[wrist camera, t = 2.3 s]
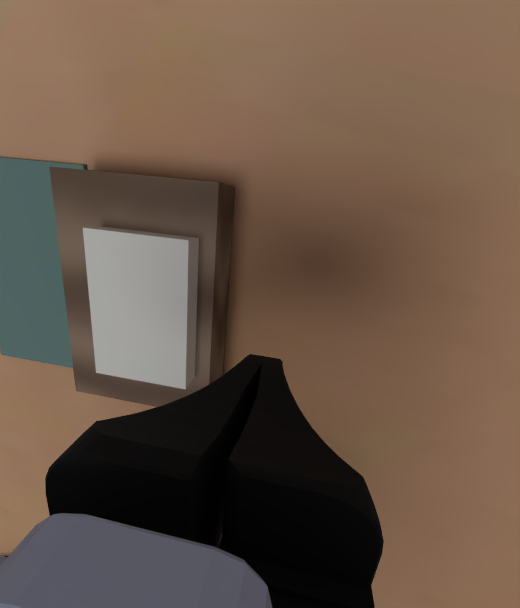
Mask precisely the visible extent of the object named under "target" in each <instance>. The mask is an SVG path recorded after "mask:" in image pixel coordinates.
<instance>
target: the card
mask: <svg viewBox="0 0 520 608" xmlns="http://www.w3.org/2000/svg"><path fill="white" fill-rule="evenodd" d="M83 237H84V248H85V259H86V269H87V280H88V291H89V302H90V313H91V324H92V334H93V345H94V356H95V367H96V373H100V374H105V375H111V376H116V377H121V378H127V379H132V380H138V381H143V382H148V383H154V384H159V385H164V386H170V387H175V388H181V389H186V388H187V387H188V385H189V384H190V383H191V381H192V380H193V378H194V377H195V352H196V319H197V286H198V253H199V238H195V237H187V236H178V235H170V234H161V233H153V232H145V231H136V230H128V229H119V228H111V227H102V226H100V227H84V228H83Z"/></svg>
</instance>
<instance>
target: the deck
mask: <svg viewBox="0 0 520 608" xmlns="http://www.w3.org/2000/svg"><path fill="white" fill-rule="evenodd" d="M49 170H50V178H51V186H52V195H53V203H54V211H55V220H56V228H57V236H58V245H59V253H60V261H61V270H62V278H63V286H64V295H65V303H66V311H67V320H68V328H69V336H70V345H71V353H72V361H73V370H74V378H75V386H76V391H79V392H84V393H89V394H95V395H100V396H105V397H110V398H115V399H120V400H125V401H130V402H135V403H140V404H146V405H151V406H156V407H159V406H162V405H165V404H168V403H170V402H173V401H175V400H178V399H180V398H183V397H186V396H188V395H190V394H192V393H194V392H196V391H198V390H200V389H202V388H204V387H206V386H207V385H209V384H211V383H212V382H214V381H215V380H217V379H218V378H220V377H221V376H223V363H224V348H225V332H226V317H227V302H228V286H229V271H230V255H231V240H232V225H233V209H234V194H235V188H234V187H232V186H229V185H226V184H223V183H220V182H211V181H201V180H190V179H179V178H168V177H158V176H147V175H136V174H125V173H115V172H104V171H93V170H83V169H72V168H61V167H50V166H49ZM100 226H102V227H111V228H119V229H128V230H136V231H145V232H153V233H161V234H170V235H178V236H187V237H195V238H199V253H198V286H197V319H196V352H195V377H194V378H193V380H192V381H191V383H190V384H189V385H188V387H187V388H186V389H181V388H175V387H170V386H164V385H159V384H154V383H148V382H143V381H138V380H132V379H127V378H121V377H116V376H111V375H105V374H100V373H96V367H95V356H94V345H93V334H92V324H91V313H90V302H89V291H88V280H87V269H86V259H85V248H84V237H83V228H84V227H100Z"/></svg>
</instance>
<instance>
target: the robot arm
mask: <svg viewBox="0 0 520 608" xmlns="http://www.w3.org/2000/svg"><path fill="white" fill-rule="evenodd" d="M282 363H283V362H282V361H281V360H280V359H277V358H271V357H265V356H258V355H252V354H250V355H248V356H247V357H246V358H244V359H243V360H242V361H241V362H240V363H238V364H237V365H236V366H235V367H233V368H232V369H231V370H229V371H228V372H227V373H225V374H224V375H223V376H221V377H220V378H218V379H217V380H215V381H214V382H212V383H211V384H209V385H207V386H206V387H204V388H202V389H200V390H198V391H196V392H194V393H192V394H190V395H188V396H186V397H183V398H180V399H178V400H175V401H173V402H170V403H168V404H165V405H162V406H159V407H156V408H153V409H150V410H146V411H143V412H139V413H135V414H131V415H126V416H121V417H116V418H112V419H107V420H101V421H96V422H95V423H94V424H93V425H92V426H91V427H90V428H89V429H87V430H86V431H85V432H84V433H83V434H82V435H81V436H80V437H79V438H78V439H77V440H76V441H75V442H74V443H73V444H72V445H71V446H70V447H69V448H68V449H67V450H66V451H65V452H64V453H63V454H62V455H61V456H60V457H59V458H58V459H57V460H56V461H55V462H54V463H53V464H52V465H51V466H50V467H49V470H48V472H47V475H46V478H45V480H46V497H47V502H48V508H49V513H50V517H48V518H47V519H45V520H43V521H42V522H40V523H39V524H37V525H36V526H35V527H34V528H33V529H32V530H31V531H30V533H29V534H28V535H27V536H26V537H25V538H24V539H23V541H22V542H21V543H20V544H19V545H18V546H17V547H16V549H15V550H14V551H13V552H12V553H11V554H10V555H9V557H4V556H1V555H0V608H374V601H373V595H372V589H371V584H372V581H373V578H374V575H375V572H376V570H377V567H378V564H379V561H380V558H381V555H382V549H383V537H382V531H381V526H380V522H379V518H378V515H377V512H376V509H375V506H374V503H373V500H372V498H371V495H370V492H369V490H368V487H367V485H366V482H365V480H364V478H363V477H362V476H361V475H360V474H359V473H358V472H357V471H355V470H354V469H353V468H352V467H351V466H349V465H348V464H347V463H346V462H345V461H343V460H342V459H341V458H340V457H339V456H338V455H337V454H336V453H335V452H334V451H333V450H332V449H331V448H330V447H329V446H328V445H327V444H326V443H325V442H324V441H323V440H322V439H321V438H320V437H319V435H318V434H317V433H316V432H315V431H314V429H313V428H312V427H311V425H310V424H309V423H308V421H307V420H306V418H305V417H304V415H303V414H302V412H301V410H300V409H299V407H298V405H297V403H296V401H295V399H294V397H293V395H292V393H291V391H290V389H289V386H288V383H287V381H286V378H285V375H284V371H283V365H282Z"/></svg>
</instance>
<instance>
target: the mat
mask: <svg viewBox="0 0 520 608" xmlns="http://www.w3.org/2000/svg"><path fill="white" fill-rule="evenodd" d="M49 166H50V167H61V168H72V169H83V170H87V166H86V165H78V164H67V163H56V162H45V161H34V160H23V159H12V158H1V157H0V350H1V355H7V356H12V357H17V358H23V359H28V360H33V361H39V362H44V363H50V364H55V365H60V366H66V367H71V368H73V361H72V353H71V345H70V336H69V328H68V320H67V311H66V303H65V295H64V286H63V278H62V270H61V261H60V253H59V245H58V236H57V228H56V220H55V211H54V203H53V195H52V186H51V178H50V170H49Z"/></svg>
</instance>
